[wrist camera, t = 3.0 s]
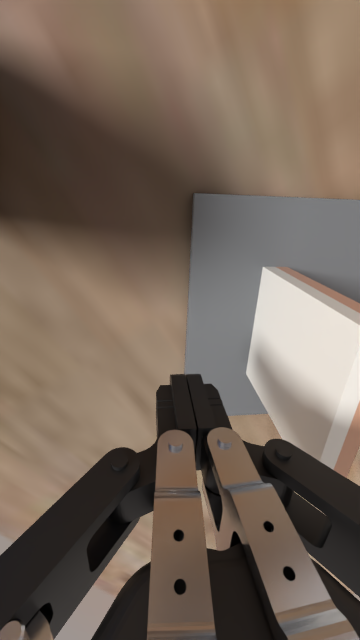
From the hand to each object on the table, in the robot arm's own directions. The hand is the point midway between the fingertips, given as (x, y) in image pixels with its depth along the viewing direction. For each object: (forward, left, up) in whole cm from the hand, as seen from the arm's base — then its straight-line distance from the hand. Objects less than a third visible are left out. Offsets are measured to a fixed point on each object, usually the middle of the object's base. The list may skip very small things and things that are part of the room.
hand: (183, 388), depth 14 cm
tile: (0, +7, -7) cm, 10 cm away
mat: (0, +12, -8) cm, 15 cm away
